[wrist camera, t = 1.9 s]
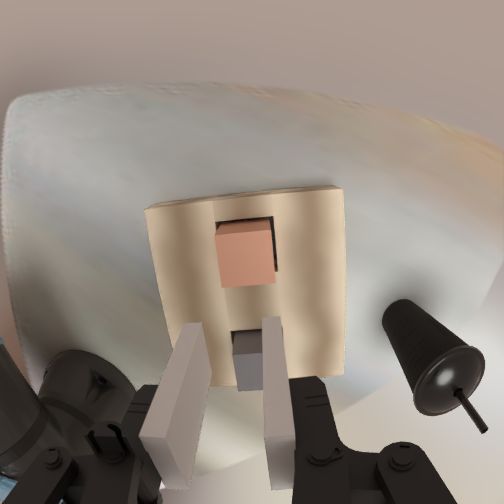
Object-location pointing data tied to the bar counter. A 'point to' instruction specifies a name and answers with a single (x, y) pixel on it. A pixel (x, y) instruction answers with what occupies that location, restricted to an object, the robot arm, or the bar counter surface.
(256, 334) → the gray block
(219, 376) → the panel
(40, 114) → the bar counter surface
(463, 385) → the drinking cup
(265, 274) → the salmon block
